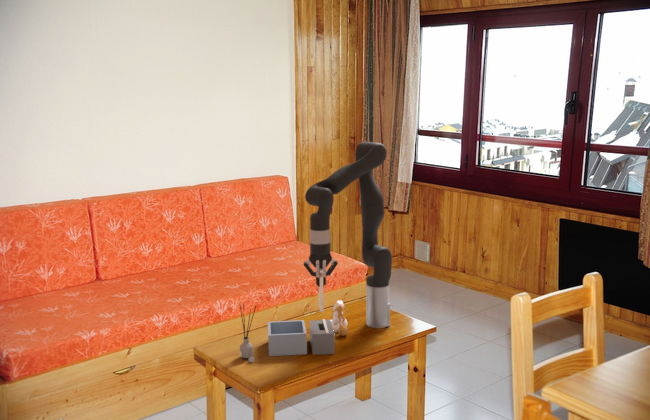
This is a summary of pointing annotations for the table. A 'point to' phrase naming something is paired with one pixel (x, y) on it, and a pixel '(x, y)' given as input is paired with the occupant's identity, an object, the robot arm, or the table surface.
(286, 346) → the bin
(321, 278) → the ticket
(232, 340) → the table surface
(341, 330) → the figurine
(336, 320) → the white creature statuette
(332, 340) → the dispenser
